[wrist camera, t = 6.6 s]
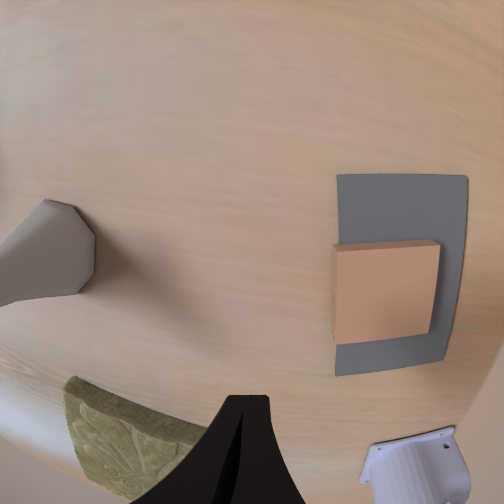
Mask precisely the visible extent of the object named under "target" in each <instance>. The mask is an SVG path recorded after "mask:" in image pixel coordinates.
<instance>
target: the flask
mask: <svg viewBox="0 0 504 504" xmlns="http://www.w3.org/2000/svg"><path fill="white" fill-rule="evenodd" d="M94 251H95V235H94V234H93V233H92V231H91V230H90V229H89V227H88V226H87V225H86V224H85V222H84V221H83V220H82V218H81V217H80V216H79V215H78V213H77V212H76V211H75V209H74V208H73V207H72V206H71V205H66V204H62V203H58V202H54V201H50V200H44V201H43V202H42V203H40V204H39V205H38V206H37V207H36V208H35V209H34V211H33V212H32V213H31V214H30V215H29V216H28V217H27V218H26V219H25V220H24V221H23V222H22V223H21V225H20V226H19V227H18V228H17V229H16V230H15V231H14V232H13V233H12V234H11V235H10V236H9V237H8V238H7V239H6V240H5V242H4V243H3V244H2V245H1V246H0V307H2V306H5V305H8V304H10V303H13V302H16V301H21V300H29V299H37V298H44V297H56V296H68V295H76V294H77V293H78V292H79V291H80V289H81V288H82V287H83V286H84V285H85V283H86V282H87V281H88V280H89V279H90V278H91V276H92V275H93V274H94Z"/></svg>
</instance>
